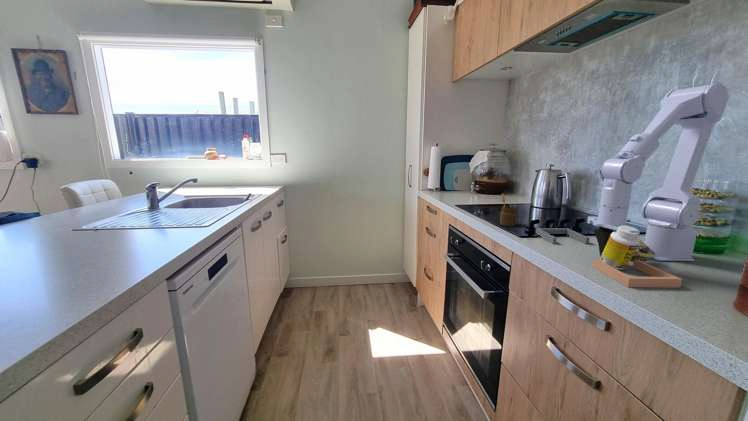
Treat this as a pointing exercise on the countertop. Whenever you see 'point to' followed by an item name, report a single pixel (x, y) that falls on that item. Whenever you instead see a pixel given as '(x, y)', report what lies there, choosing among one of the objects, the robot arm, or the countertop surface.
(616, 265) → the supplement bottle
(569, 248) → the countertop surface
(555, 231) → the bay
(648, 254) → the balance beam
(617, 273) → the frame
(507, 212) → the utensil holder
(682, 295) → the countertop surface
